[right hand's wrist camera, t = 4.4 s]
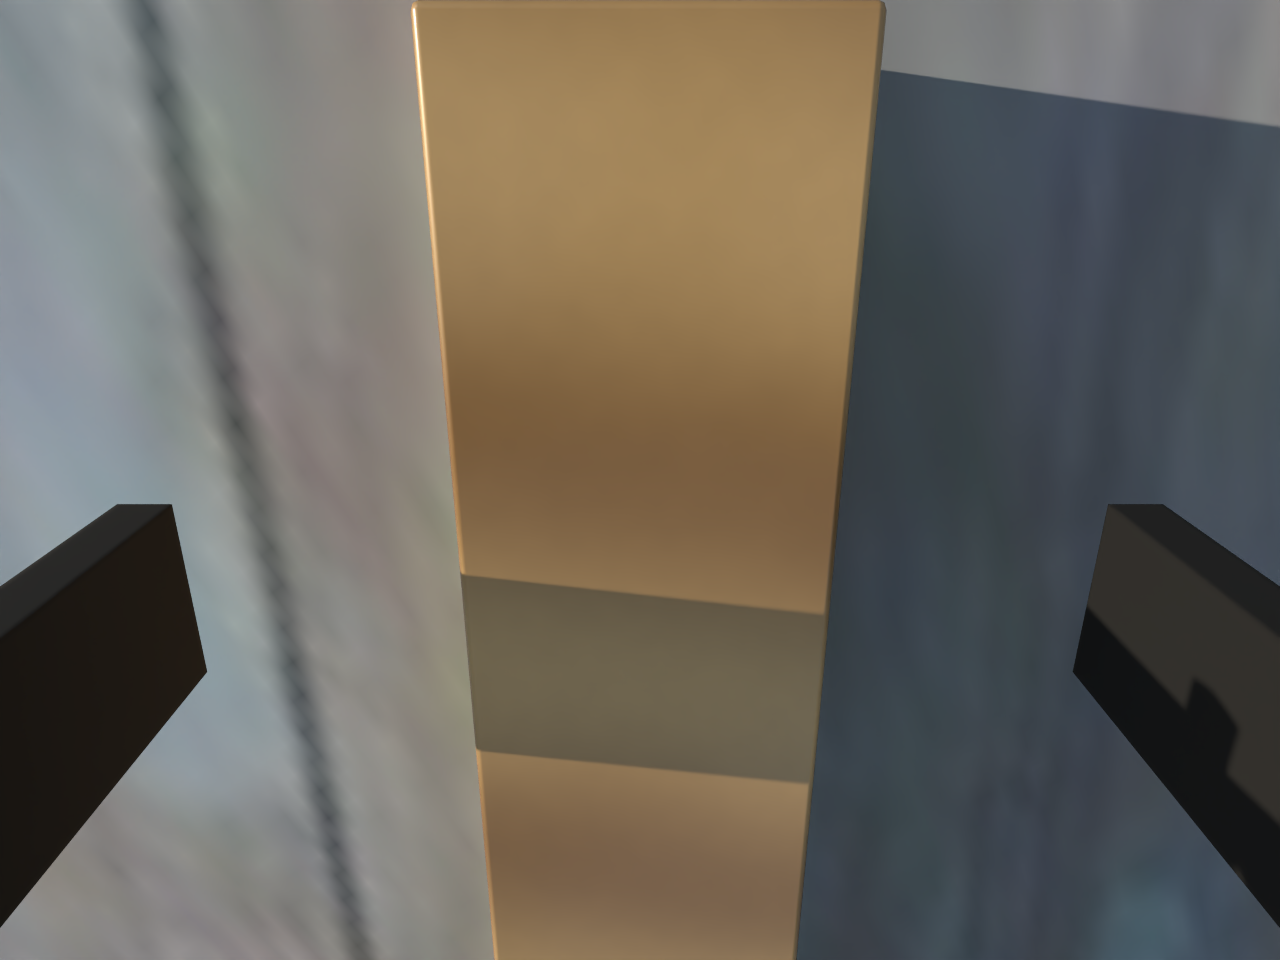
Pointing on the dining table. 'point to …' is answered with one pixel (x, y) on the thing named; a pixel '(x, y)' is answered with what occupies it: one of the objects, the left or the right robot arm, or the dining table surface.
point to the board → (647, 443)
